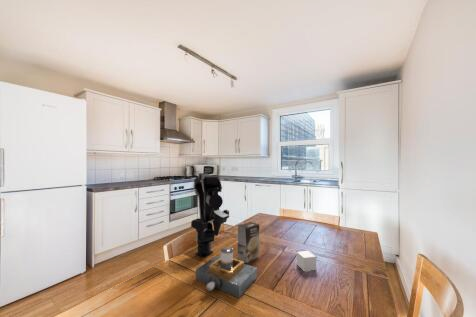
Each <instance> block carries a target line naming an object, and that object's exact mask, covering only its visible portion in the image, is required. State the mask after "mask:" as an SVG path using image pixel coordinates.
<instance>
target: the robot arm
mask: <svg viewBox="0 0 476 317" xmlns="http://www.w3.org/2000/svg"><path fill="white" fill-rule="evenodd" d="M193 190H194V193H195V195H196V196H197V198H198V210H199V212H198V213H199V218H195V219H192V221H191V222H190V227H191V228H193V229H195V231H196V233H195V242H196V244H197V252H195V255H197V256H200V257H203V258H207V257H208V256H210V255H212V254H213V253H214V251H213V250H212V242H213V243H215V242H214V241H215V236H216V237H218V235H219V232H220V229H221V226H222V225H223V224H224V223H226V222H227V221H228V219H230V210H228V209H225V210H224V209H223V210H220V208H221V207H222V205H223V197H222V196H221V195H219V193H222V190H223V186H222V183H221V180H220V178H219V176H218V175H210V174H209V173H207V172H202V173H201V172H200V173H198V176H197V177H195V179H194V182H193Z"/></svg>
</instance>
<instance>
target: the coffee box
mask: <svg viewBox="0 0 476 317" xmlns="http://www.w3.org/2000/svg"><path fill="white" fill-rule="evenodd" d="M236 255H237V257H236V259H237V260H240V261H244V264H246V263H247V264H248V263H249V262H252V261H254V260H256V259H257V258H260V224H259V223H256V222H251V221H250V222H249V221H248V222H246V223H245V222H244V223H242V224H237V254H236Z"/></svg>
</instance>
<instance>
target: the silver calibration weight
mask: <svg viewBox="0 0 476 317" xmlns="http://www.w3.org/2000/svg"><path fill="white" fill-rule="evenodd" d="M234 251H235V248H234V247H223V248H221V249H220V256H221V261H220V268H222V269H225V270H228V271H230V270H231V269H233V258H234Z"/></svg>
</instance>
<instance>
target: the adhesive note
mask: <svg viewBox="0 0 476 317" xmlns="http://www.w3.org/2000/svg"><path fill="white" fill-rule="evenodd" d="M297 265H298V266H299V267H300V268H301V269H302V270H303V271H307V272H310V271H309V270H315V271H317V256H316V255H315V254H313V253H312V252H311V251H310V250H302V251H296V266H297ZM298 266H297V267H298ZM299 267H298V268H299ZM300 268H299V269H300ZM301 269H300V270H301ZM302 270H301V271H302ZM303 271H302V272H303Z"/></svg>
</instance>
